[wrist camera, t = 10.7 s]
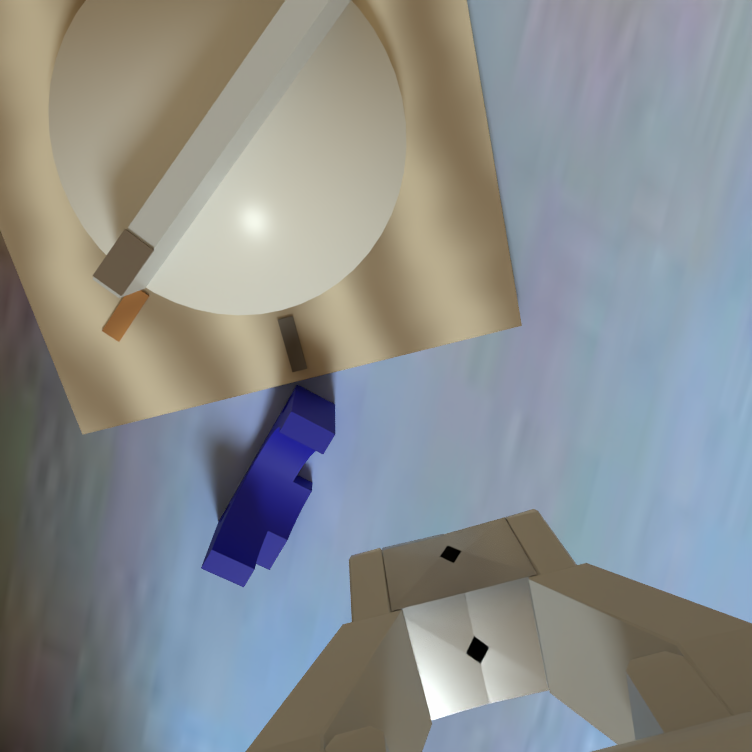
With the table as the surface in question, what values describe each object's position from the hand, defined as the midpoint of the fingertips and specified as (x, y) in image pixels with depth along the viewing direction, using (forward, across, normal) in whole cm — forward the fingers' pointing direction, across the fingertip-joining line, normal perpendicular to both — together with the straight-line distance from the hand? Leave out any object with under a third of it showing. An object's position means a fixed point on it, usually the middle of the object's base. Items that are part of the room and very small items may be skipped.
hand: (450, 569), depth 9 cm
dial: (+29, +5, -11) cm, 32 cm away
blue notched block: (+32, +8, +10) cm, 34 cm away
